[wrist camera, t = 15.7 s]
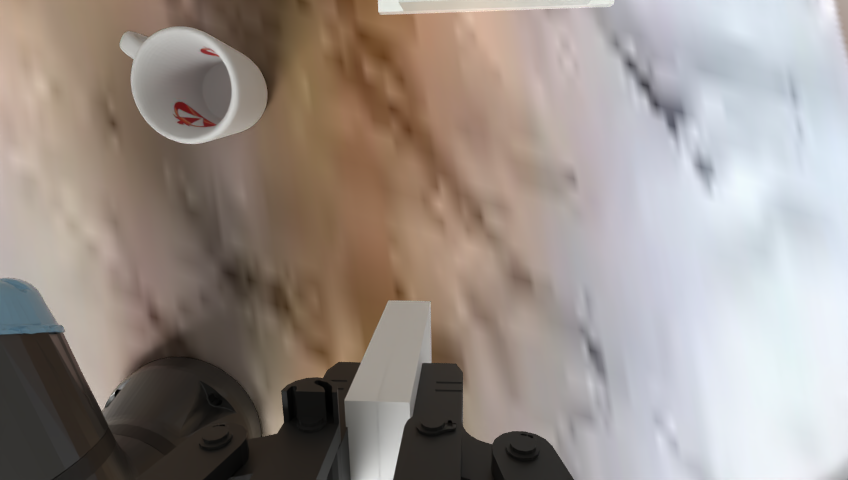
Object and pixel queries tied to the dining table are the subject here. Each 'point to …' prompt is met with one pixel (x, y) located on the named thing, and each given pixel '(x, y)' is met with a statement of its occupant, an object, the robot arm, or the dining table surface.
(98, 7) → the dining table surface
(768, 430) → the dining table surface
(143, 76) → the cup
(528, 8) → the white tray
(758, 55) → the dining table surface
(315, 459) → the robot arm
